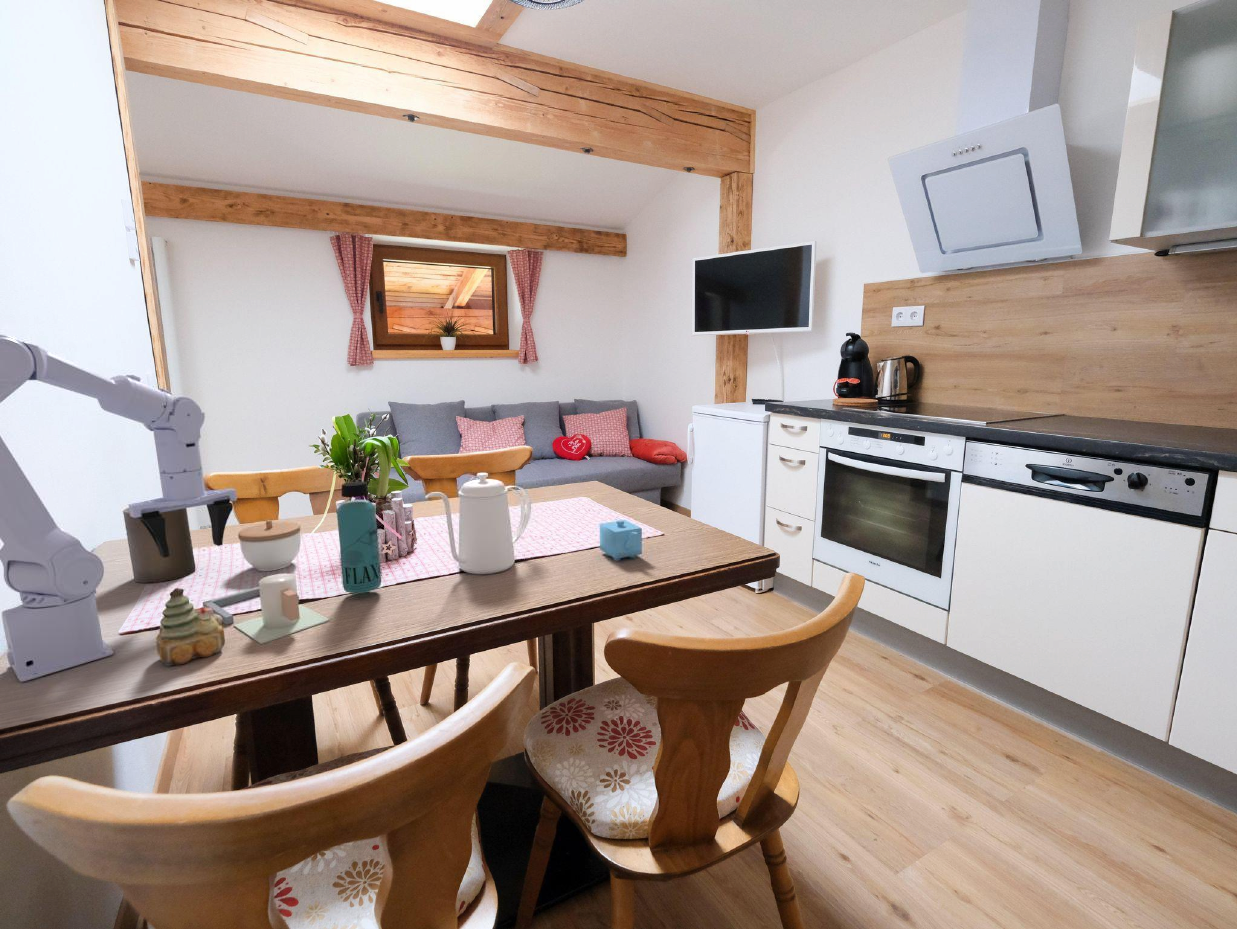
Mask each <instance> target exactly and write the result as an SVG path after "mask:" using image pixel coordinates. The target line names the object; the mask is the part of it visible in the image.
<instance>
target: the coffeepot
mask: <svg viewBox="0 0 1237 929" xmlns="http://www.w3.org/2000/svg"><path fill="white" fill-rule="evenodd" d="M476 477H477V478H478V479H475V480H474V479H473V480H470V481H469V480H468V481H466V482H465V483H463V484H462V485H461V488H460V490H458V492H457V493H458V497H459V512H458V514H459V515H458V516H459V517H458V518H459V522H458V523H459V524H458V554H457V550H456V549H457V548H456V543H455V535H454V528H453V521H452V520H453V518H452V513H451V505H450V501H449V498H448V496H447V495H446V494H445V493H444V492H440V491H435V492H434V491H433V492H429V493H427V494H426V495H425V497H424V498H425V499H428V498H440V499H442V500H443V503H444V509H445V516H446V522H447V531H448V538H449V546H450V552H451V555H452V558H453V560H454V561H455V562H456V563H458V566H459V568H460V570H461V571H463V572H465V573H468V574H471V575H472V574H473V575H491V574H492V575H493V574H497V573H501V572H504V571H506V570H508V569H510V568H511V567H513V565H514V563H515V561H516V558H515V557H516V556H515V548H514V544H515V543H516V542H517V541H518V540H519V539H520V538H521V537H522V535H523V533H524V532H525V530H526V528H527V526H528V523H529V520H530V518H531V512H532V502H531V497H530V495H529V492H528V491H527V490H526V489H525V488H523V487H521V486H518V485H507V486H506V485H505V483H504V482H503V481H500V480H498V479H492V478H487V477H489V474H488V472H477V474H476ZM514 488H518V489H519V490H520V491H521V492H522V493H523V495H524V498H525V500H524V498H523V495H522V494H521V493H520V492H519V491H518V490H516V489H514ZM510 490H511V491H512V492H513V493H515V495H516V496H517V498H518V501H519V504H520V506H519V507H520V517H519V518H520V519H519V522H518V526H517V529H516V530H515V533H514V535H513V533H512V524H511V523H512V522H511V516H510V515H511V514H510V507H509V499H508V493H509V491H510ZM525 502H526V504H525Z"/></svg>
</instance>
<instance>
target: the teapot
mask: <svg viewBox="0 0 1237 929" xmlns="http://www.w3.org/2000/svg"><path fill="white" fill-rule="evenodd" d="M642 531H643V528H642V527H640V526H639V525H637V524H635V523H632V522H631V521H629V520H626V519H624V520H622V519H618V520H615V521H610V522H604V523H599V549H600V550H601V551H602V552H604V553H605V556H607V557H609V556H610V557H612V558H613V561H615V562H616V561H617V562H619V561H621V559H622V558H627V557H628V558H631V559H635V558H637V556H639V555H642V554H643V542H642V541H643V532H642Z"/></svg>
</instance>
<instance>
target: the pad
mask: <svg viewBox="0 0 1237 929" xmlns="http://www.w3.org/2000/svg"><path fill="white" fill-rule="evenodd" d="M298 605H299V616H300V620H299V621H298V622H297V623H295V624H293V625H291V626H288V627H285V628H280V629H268V628H265V627H264V626H263V618H262V615H261V616H259V617H256V618H252V619H249V620H246V621H242V622H239V623H236V624H233V627H234V628H236V629H237V630H239V631H241V632H242V633H243V634H245V635H246V636H248V637H249V638H251V639H252V640H254V641H255V642H257V643H258V644H259V645H264V644H266V643H269V642H272V641H275V640H278V639H280V638H283V637H287V636H289V635H292V634H295V633H298V632H300V631H303V630H307V629H310V628H313V627H315V626H318V625H321V624H323V623H327V622H330V618H328V617H325V616H323V615H322V614H319V613H318V612H316V611H314V610H312V609H310V608H308V607H306V606H305V605H302V604H301V603H300V604H298Z"/></svg>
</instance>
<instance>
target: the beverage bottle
mask: <svg viewBox="0 0 1237 929" xmlns="http://www.w3.org/2000/svg"><path fill="white" fill-rule="evenodd" d="M368 494H369V490H368V486H367V483H366V481H351V482H350V481H348V482H345V483H342V484H341V497H342V498H358V497H363V496H367V495H368ZM335 510H336V518H337V527H338V529H337V530H338V539H339V549H340V550H339V556H340V561H339V563H340V568H341V569H340V573H341V580H342V581H341V584H342V588H343V589H344V591H345V592H346V593H350V594H359V593H360V594H361V593H367V592H370V591H373V590H376V589H377V588H378V589H379V588H380V586H381V584H382V580H383V579H382V574H383V573H382V570H381V565H382V562H381V558H380V557H381V554H380V550H379V549H380V548H379V537H380V536H379V534H378V532H379V527H378V525H379V524H378V522H377V513H376V510H377V508H376V505H375V504H374V503H373V502H371V501H369V499H367V500H366V499H354V500H347V501H345V502H343V503H342V504H340V505H339V507H338V508H336V509H335Z"/></svg>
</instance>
